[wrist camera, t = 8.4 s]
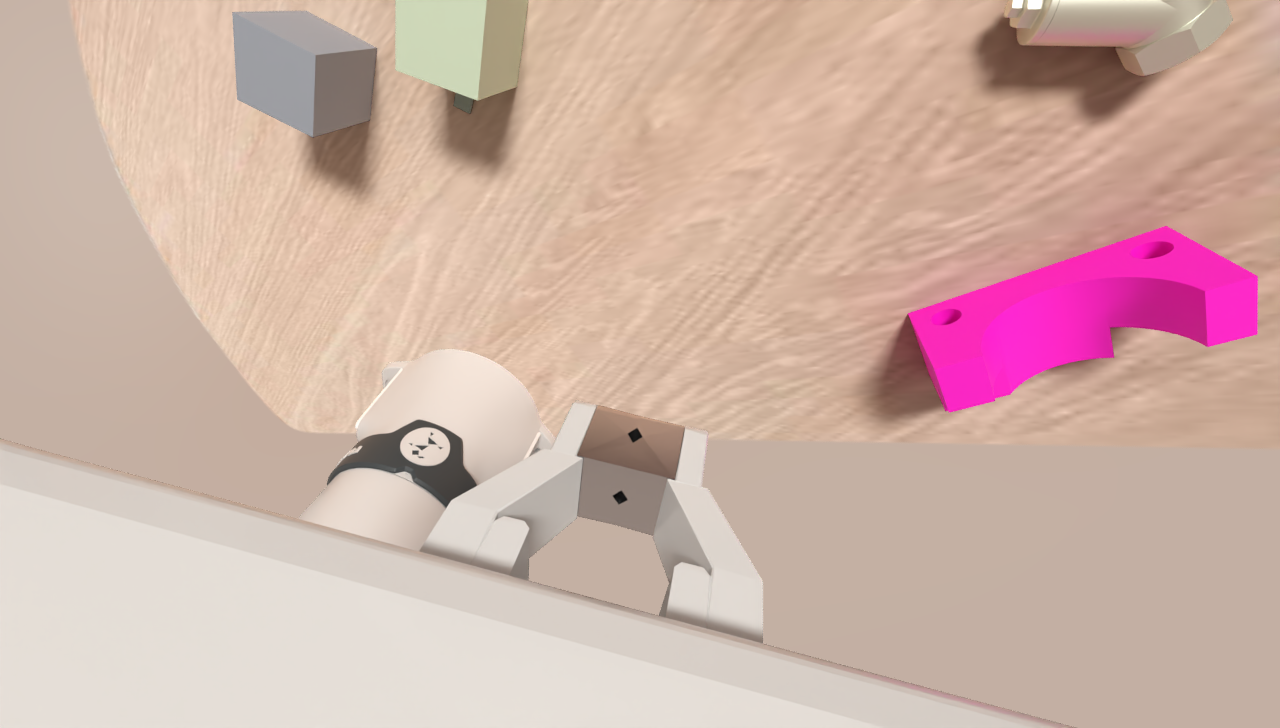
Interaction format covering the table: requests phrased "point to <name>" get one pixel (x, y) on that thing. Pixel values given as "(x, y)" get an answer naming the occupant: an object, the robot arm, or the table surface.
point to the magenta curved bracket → (1081, 313)
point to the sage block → (461, 43)
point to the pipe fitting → (1124, 27)
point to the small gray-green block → (463, 103)
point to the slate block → (303, 70)
